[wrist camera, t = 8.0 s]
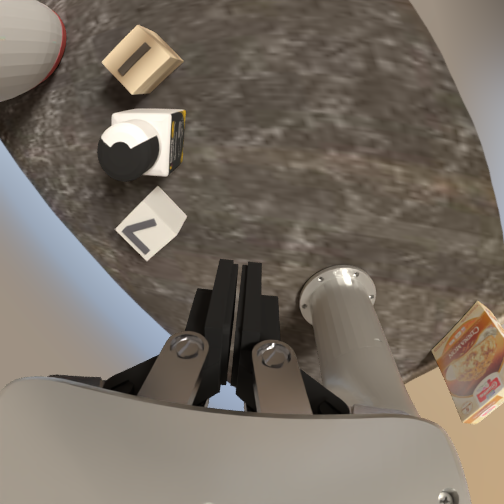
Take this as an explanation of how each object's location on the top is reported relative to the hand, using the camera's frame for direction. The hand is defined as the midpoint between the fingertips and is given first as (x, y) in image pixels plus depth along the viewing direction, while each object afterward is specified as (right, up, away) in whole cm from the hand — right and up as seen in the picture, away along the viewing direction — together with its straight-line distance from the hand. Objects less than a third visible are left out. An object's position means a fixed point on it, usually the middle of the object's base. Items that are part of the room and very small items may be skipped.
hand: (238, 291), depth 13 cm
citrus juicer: (-31, +32, +17) cm, 48 cm away
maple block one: (-12, +26, +20) cm, 34 cm away
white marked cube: (-13, +7, +30) cm, 33 cm away
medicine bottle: (-12, +17, +25) cm, 32 cm away
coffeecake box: (+45, -15, +40) cm, 62 cm away
